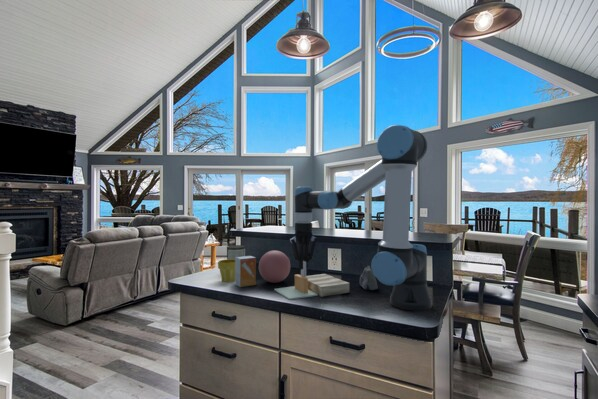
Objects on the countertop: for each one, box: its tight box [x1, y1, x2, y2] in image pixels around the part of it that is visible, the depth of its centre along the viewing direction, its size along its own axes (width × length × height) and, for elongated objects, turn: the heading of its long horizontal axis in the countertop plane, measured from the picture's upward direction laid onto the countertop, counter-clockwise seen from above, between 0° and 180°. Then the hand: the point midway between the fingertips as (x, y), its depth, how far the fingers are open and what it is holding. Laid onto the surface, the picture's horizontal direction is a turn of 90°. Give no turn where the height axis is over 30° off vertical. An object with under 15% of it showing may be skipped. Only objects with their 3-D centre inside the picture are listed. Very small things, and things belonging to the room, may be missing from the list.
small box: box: [234, 255, 257, 288], centre depth 152 cm, size 8×6×13 cm
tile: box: [294, 273, 308, 293], centre depth 140 cm, size 9×6×2 cm
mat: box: [273, 285, 319, 301], centre depth 138 cm, size 16×13×1 cm
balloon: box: [258, 249, 291, 284], centre depth 158 cm, size 15×20×15 cm
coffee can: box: [226, 244, 246, 259], centre depth 181 cm, size 10×10×14 cm
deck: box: [306, 273, 350, 298], centre depth 144 cm, size 20×14×4 cm
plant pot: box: [217, 258, 235, 283], centre depth 160 cm, size 10×10×10 cm
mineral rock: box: [359, 265, 379, 291], centre depth 148 cm, size 13×11×10 cm
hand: (303, 276), depth 140 cm, fingers closed
